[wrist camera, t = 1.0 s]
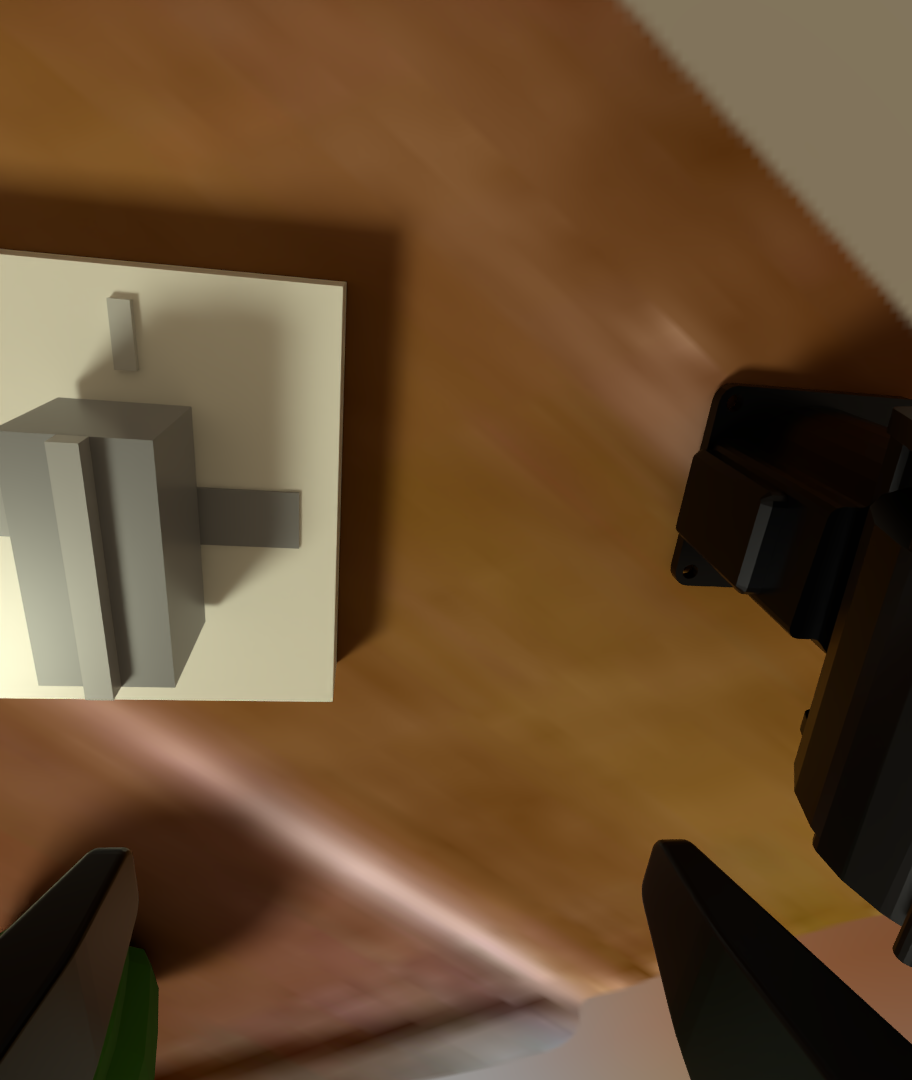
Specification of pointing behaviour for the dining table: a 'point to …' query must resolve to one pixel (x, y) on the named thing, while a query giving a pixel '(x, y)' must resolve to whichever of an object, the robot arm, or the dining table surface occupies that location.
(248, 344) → the dimmer console
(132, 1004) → the bell pepper
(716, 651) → the dining table surface
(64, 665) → the fader cap
